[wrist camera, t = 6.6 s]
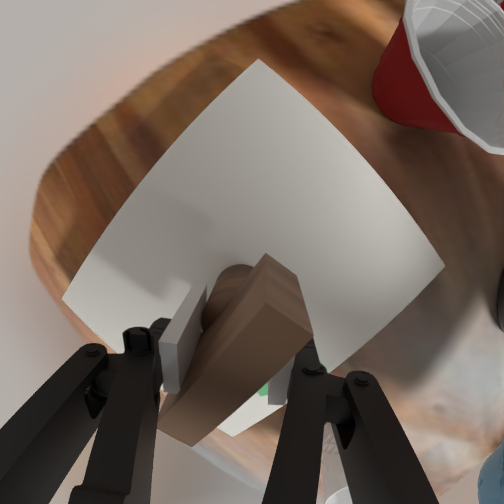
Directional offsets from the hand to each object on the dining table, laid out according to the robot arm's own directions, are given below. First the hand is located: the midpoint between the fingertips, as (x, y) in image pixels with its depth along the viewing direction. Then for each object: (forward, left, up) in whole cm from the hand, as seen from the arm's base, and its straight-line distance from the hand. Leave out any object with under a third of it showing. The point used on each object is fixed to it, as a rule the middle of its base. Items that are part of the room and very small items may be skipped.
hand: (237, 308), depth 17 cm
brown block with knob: (0, 0, -3) cm, 3 cm away
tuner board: (0, 0, -7) cm, 7 cm away
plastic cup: (-20, -1, -7) cm, 21 cm away
